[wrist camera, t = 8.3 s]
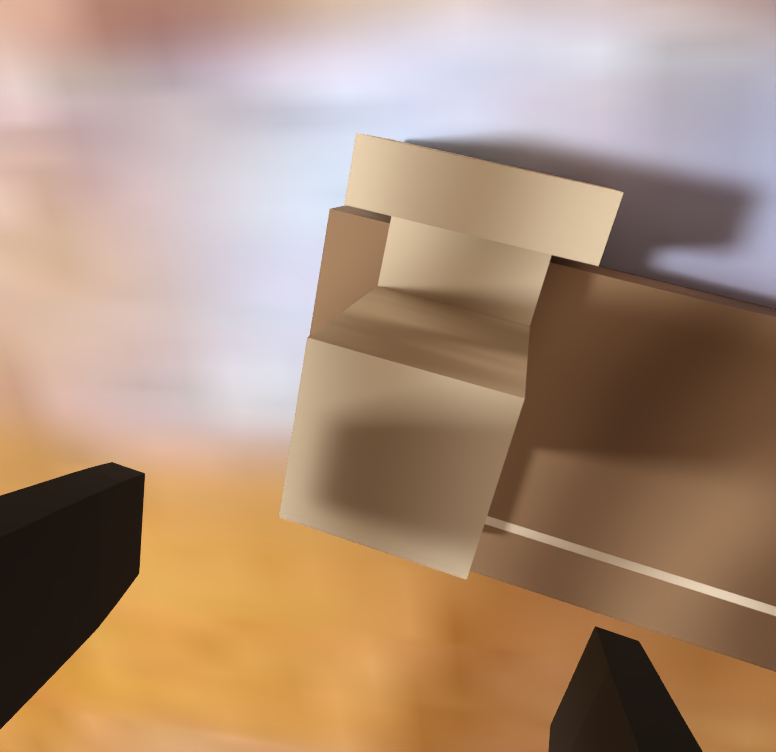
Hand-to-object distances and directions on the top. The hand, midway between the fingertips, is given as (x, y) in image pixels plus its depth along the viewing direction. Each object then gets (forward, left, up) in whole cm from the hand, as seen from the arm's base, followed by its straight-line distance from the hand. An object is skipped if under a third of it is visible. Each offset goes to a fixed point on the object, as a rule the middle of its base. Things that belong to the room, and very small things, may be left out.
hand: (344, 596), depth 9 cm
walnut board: (-5, -2, -10) cm, 12 cm away
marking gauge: (+1, -1, -10) cm, 10 cm away
